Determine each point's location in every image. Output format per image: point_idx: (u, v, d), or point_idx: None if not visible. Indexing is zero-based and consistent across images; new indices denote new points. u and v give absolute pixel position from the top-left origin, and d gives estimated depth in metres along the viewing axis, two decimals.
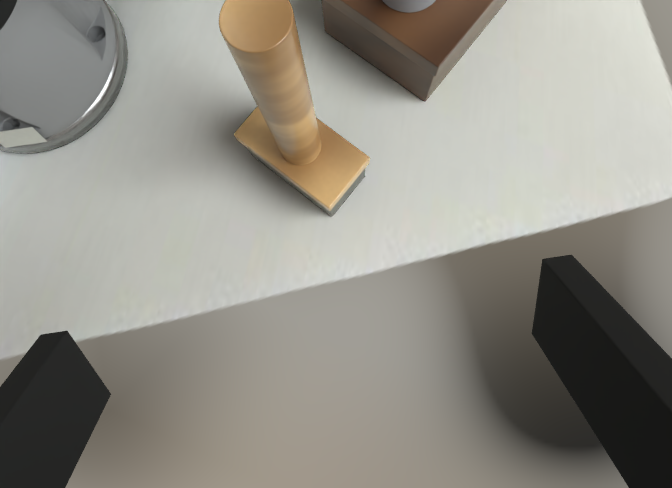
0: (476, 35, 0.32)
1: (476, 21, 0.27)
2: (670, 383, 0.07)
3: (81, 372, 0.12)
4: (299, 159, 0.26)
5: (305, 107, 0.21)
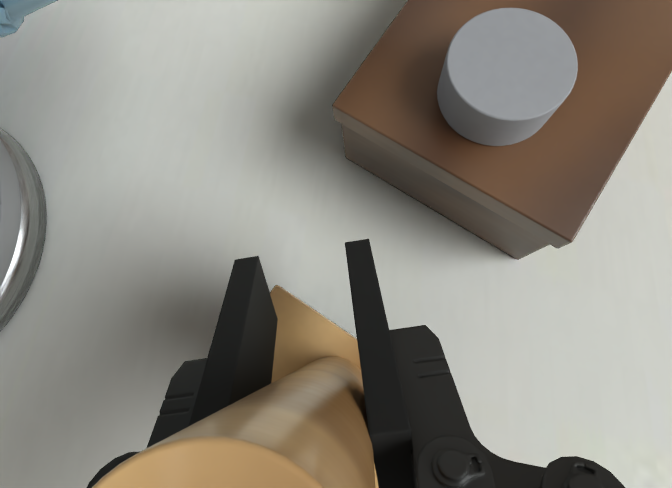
0: None
1: (623, 151, 0.15)
2: (372, 333, 0.09)
3: (266, 294, 0.13)
4: None
5: None
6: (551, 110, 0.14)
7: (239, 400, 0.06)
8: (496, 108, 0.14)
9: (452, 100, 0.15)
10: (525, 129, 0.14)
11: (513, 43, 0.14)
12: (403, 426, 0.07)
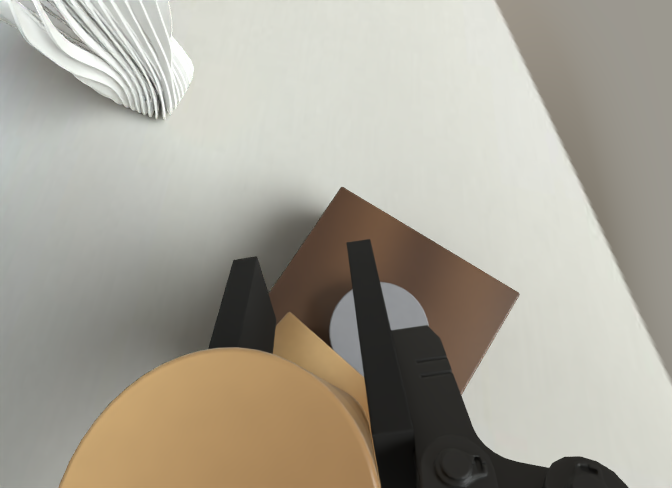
0: None
1: None
2: (374, 333, 0.09)
3: (264, 294, 0.13)
4: None
5: None
6: None
7: None
8: None
9: None
10: None
11: None
12: (406, 426, 0.07)
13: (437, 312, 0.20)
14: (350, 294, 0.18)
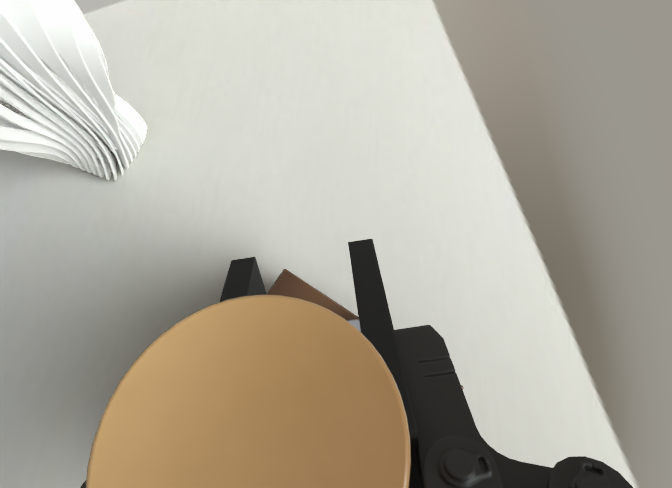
0: None
1: None
2: (377, 333, 0.09)
3: (263, 294, 0.13)
4: None
5: None
6: None
7: None
8: None
9: None
10: None
11: None
12: (409, 426, 0.07)
13: None
14: None
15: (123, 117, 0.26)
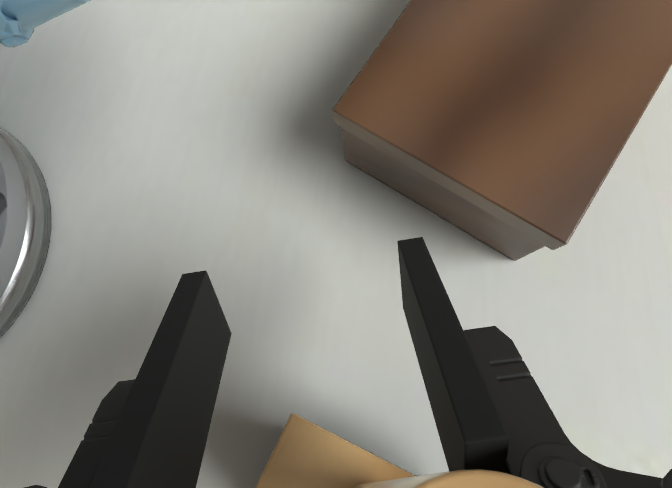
0: None
1: (617, 155, 0.16)
2: (446, 334, 0.09)
3: (215, 308, 0.13)
4: None
5: None
6: None
7: None
8: None
9: None
10: None
11: None
12: (499, 433, 0.07)
13: None
14: None
15: None
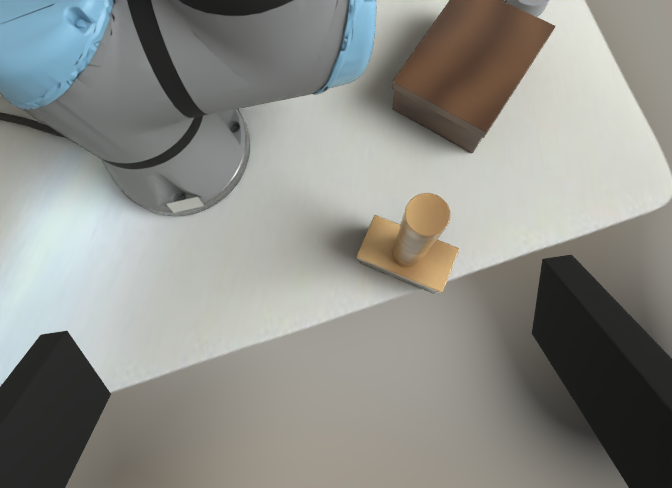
0: None
1: (508, 99, 0.39)
2: (670, 383, 0.07)
3: (81, 372, 0.12)
4: (415, 264, 0.36)
5: None
6: None
7: None
8: None
9: None
10: (548, 1, 0.46)
11: None
12: None
13: (514, 35, 0.40)
14: None
15: None
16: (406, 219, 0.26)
